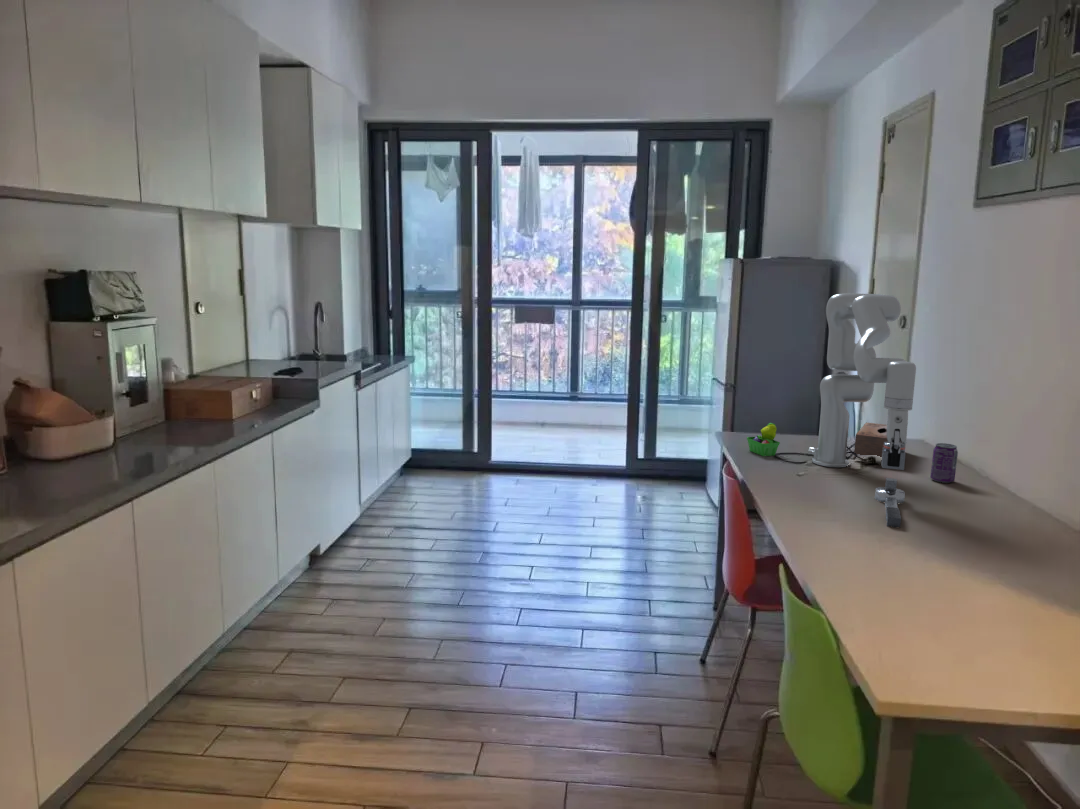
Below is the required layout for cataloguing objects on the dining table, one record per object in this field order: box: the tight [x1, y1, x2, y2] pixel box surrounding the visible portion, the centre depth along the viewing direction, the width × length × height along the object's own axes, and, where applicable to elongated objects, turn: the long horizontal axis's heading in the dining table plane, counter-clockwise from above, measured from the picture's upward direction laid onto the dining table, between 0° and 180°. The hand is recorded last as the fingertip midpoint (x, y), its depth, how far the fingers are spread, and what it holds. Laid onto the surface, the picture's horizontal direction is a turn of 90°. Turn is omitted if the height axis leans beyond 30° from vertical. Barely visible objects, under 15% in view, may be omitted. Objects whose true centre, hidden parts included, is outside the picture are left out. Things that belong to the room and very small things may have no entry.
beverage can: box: [930, 442, 959, 484], centre depth 252 cm, size 7×7×12 cm
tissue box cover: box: [853, 422, 902, 457], centre depth 284 cm, size 26×14×10 cm, turn 150°
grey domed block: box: [881, 442, 906, 471], centre depth 228 cm, size 6×6×7 cm
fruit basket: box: [746, 422, 781, 457], centre depth 285 cm, size 11×9×11 cm
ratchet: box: [874, 477, 906, 528], centre depth 220 cm, size 30×8×6 cm, turn 158°
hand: (892, 463), depth 228 cm, fingers closed on grey domed block, 5 cm apart
